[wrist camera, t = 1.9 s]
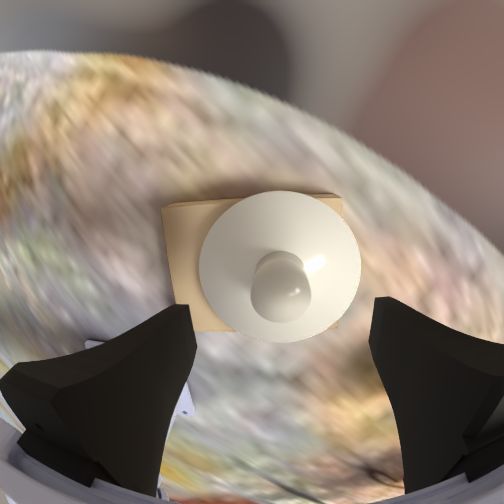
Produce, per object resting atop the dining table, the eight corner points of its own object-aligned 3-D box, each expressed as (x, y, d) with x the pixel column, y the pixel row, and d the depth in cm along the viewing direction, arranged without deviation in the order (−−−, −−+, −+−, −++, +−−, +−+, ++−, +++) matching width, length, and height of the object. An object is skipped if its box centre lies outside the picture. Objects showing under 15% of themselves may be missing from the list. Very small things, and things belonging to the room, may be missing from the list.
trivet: (190, 315, 20) (181, 330, 18) (172, 203, 17) (160, 208, 15) (332, 312, 19) (337, 328, 17) (334, 193, 16) (342, 197, 14)
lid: (212, 337, 18) (200, 369, 15) (192, 196, 15) (172, 205, 12) (351, 333, 17) (363, 364, 14) (359, 188, 14) (380, 195, 11)
